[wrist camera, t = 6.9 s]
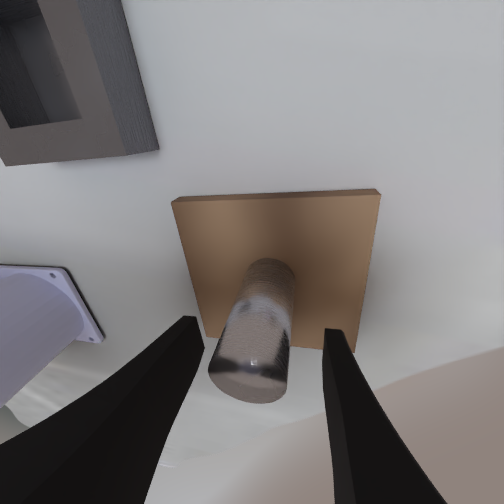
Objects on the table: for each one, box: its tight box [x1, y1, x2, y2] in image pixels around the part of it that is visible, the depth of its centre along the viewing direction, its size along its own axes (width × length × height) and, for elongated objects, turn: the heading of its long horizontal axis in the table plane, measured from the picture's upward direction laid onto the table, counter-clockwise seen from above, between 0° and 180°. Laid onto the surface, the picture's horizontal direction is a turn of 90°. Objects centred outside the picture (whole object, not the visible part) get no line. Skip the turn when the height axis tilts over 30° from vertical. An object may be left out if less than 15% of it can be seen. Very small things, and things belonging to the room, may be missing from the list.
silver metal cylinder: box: [208, 258, 295, 403], centre depth 11 cm, size 3×3×6 cm
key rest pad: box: [171, 189, 381, 353], centre depth 14 cm, size 10×10×1 cm
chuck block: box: [0, 0, 159, 166], centre depth 10 cm, size 7×7×2 cm
